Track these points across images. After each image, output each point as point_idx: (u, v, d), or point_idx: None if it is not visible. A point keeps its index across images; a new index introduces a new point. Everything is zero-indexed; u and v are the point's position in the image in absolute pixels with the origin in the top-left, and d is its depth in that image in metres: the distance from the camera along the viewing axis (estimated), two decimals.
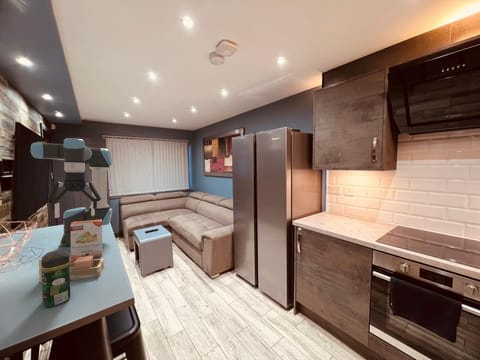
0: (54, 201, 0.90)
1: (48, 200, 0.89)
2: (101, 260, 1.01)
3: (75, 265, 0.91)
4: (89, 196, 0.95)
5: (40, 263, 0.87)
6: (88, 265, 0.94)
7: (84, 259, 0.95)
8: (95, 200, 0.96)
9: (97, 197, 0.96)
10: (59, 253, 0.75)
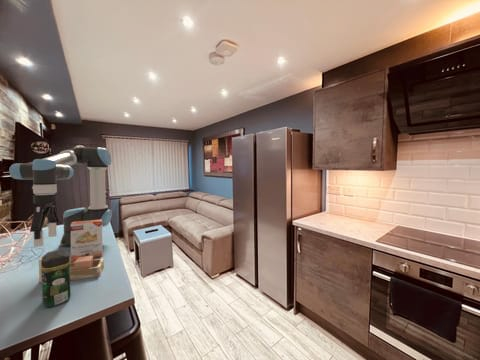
0: (49, 220, 0.94)
1: None
2: (101, 260, 1.01)
3: (75, 265, 0.91)
4: None
5: (40, 263, 0.87)
6: (88, 265, 0.94)
7: (84, 259, 0.95)
8: None
9: None
10: (59, 253, 0.75)
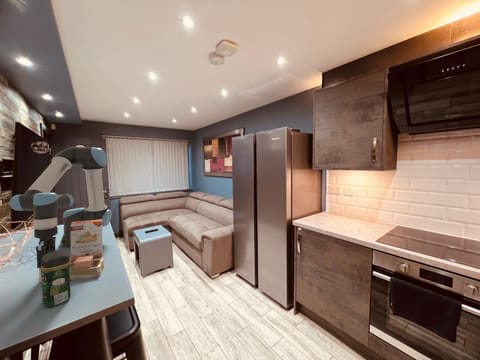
0: None
1: None
2: (101, 260, 1.01)
3: (75, 265, 0.91)
4: None
5: None
6: (88, 265, 0.94)
7: (84, 259, 0.95)
8: None
9: None
10: (59, 253, 0.75)
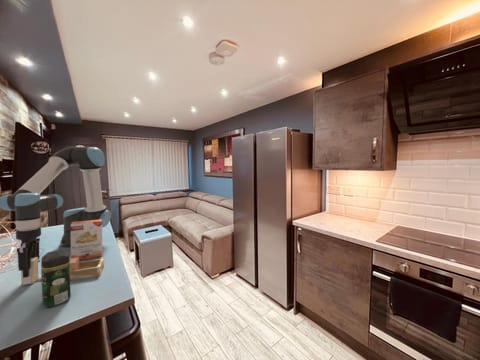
0: None
1: None
2: (101, 260, 1.01)
3: None
4: None
5: None
6: (73, 267, 0.91)
7: None
8: None
9: None
10: (59, 253, 0.75)
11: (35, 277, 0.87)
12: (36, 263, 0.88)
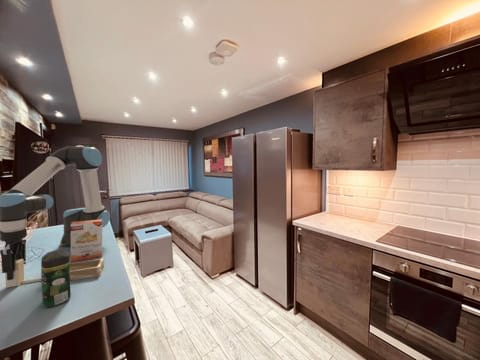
0: None
1: None
2: (101, 260, 1.01)
3: None
4: None
5: None
6: None
7: None
8: None
9: None
10: (59, 253, 0.75)
11: (20, 279, 0.85)
12: (21, 265, 0.86)
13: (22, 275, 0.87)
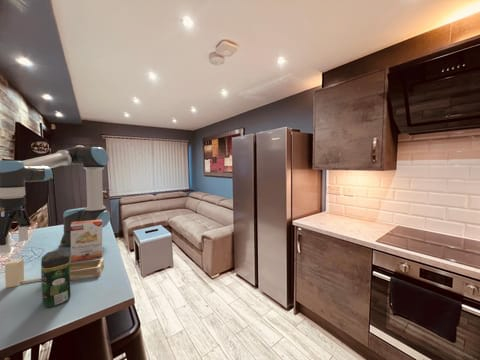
0: None
1: None
2: (101, 260, 1.01)
3: None
4: None
5: (6, 268, 0.82)
6: None
7: None
8: None
9: None
10: (59, 253, 0.75)
11: (20, 279, 0.85)
12: (21, 265, 0.86)
13: (22, 275, 0.87)
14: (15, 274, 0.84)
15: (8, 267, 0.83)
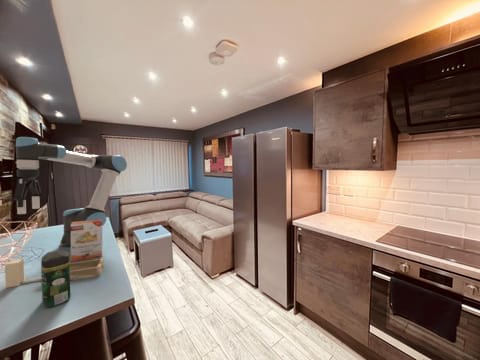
0: None
1: None
2: (101, 260, 1.01)
3: None
4: None
5: (6, 268, 0.82)
6: None
7: None
8: None
9: None
10: (59, 253, 0.75)
11: (20, 279, 0.85)
12: (21, 265, 0.86)
13: (22, 275, 0.87)
14: (15, 274, 0.84)
15: (8, 267, 0.83)
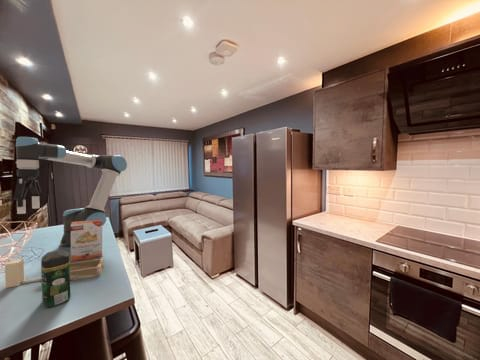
0: None
1: None
2: (101, 260, 1.01)
3: None
4: None
5: (6, 268, 0.82)
6: None
7: None
8: None
9: None
10: (59, 253, 0.75)
11: (20, 279, 0.85)
12: (21, 265, 0.86)
13: (22, 275, 0.87)
14: (15, 274, 0.84)
15: (8, 267, 0.83)
